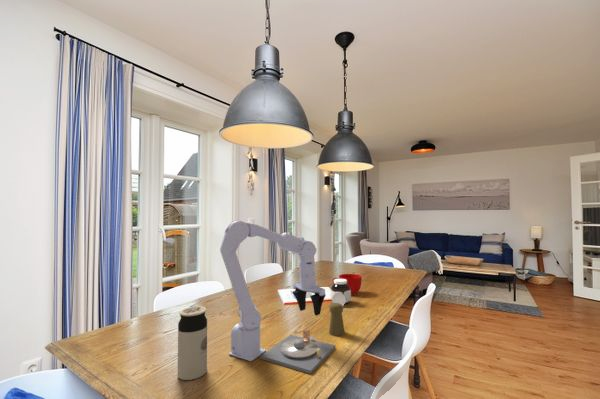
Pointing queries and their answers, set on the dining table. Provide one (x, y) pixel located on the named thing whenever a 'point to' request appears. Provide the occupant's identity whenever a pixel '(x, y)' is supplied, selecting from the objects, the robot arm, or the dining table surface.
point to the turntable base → (299, 364)
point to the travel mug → (192, 343)
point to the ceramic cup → (351, 281)
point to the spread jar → (340, 292)
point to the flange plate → (300, 353)
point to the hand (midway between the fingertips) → (309, 312)
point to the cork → (336, 320)
